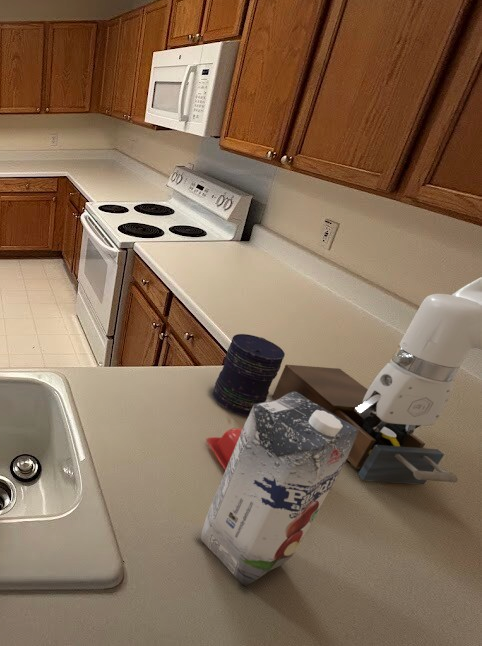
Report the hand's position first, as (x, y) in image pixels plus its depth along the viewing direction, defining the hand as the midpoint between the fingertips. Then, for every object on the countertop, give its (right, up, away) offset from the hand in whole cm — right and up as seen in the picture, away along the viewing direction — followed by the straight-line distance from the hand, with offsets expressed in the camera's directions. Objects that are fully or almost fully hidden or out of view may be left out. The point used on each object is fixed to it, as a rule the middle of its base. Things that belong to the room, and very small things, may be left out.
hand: (376, 443), depth 78 cm
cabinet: (0, 0, +12) cm, 13 cm away
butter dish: (-26, -4, -2) cm, 26 cm away
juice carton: (-37, -9, -17) cm, 42 cm away
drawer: (0, -4, 0) cm, 4 cm away
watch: (0, -3, +1) cm, 3 cm away
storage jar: (-17, +3, +16) cm, 23 cm away
